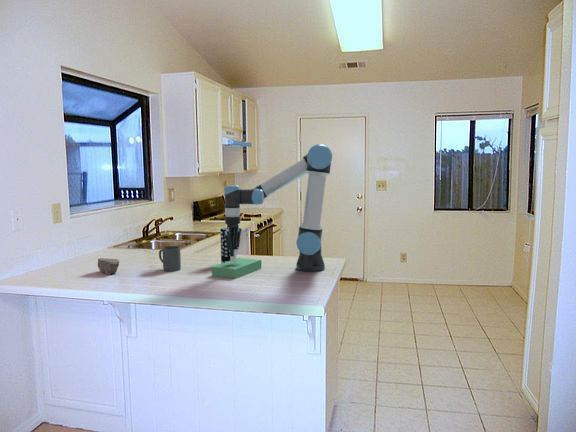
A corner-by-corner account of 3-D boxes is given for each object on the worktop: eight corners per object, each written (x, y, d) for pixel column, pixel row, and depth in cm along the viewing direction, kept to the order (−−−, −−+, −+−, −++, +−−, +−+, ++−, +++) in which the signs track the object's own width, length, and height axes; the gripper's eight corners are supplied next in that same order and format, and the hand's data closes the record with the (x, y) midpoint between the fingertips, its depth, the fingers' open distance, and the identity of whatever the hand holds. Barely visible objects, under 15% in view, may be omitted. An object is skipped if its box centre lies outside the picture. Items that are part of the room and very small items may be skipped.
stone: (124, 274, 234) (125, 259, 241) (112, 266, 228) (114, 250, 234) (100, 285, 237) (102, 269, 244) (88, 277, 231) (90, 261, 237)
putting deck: (261, 268, 245) (261, 259, 244) (235, 278, 223) (235, 269, 222) (239, 266, 251) (239, 257, 251) (212, 275, 229) (211, 266, 228)
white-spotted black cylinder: (233, 266, 251) (232, 229, 249) (219, 265, 253) (218, 229, 251) (238, 262, 259) (237, 227, 257) (224, 262, 261) (223, 227, 259)
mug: (184, 268, 245) (183, 246, 244) (172, 272, 237) (171, 249, 236) (165, 266, 252) (165, 244, 251) (153, 269, 244) (152, 247, 243)
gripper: (233, 214, 238) (234, 259, 241) (218, 217, 227) (219, 263, 229) (245, 215, 235) (246, 260, 237) (231, 217, 223) (232, 265, 226)
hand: (233, 262), depth 233 cm, fingers closed
